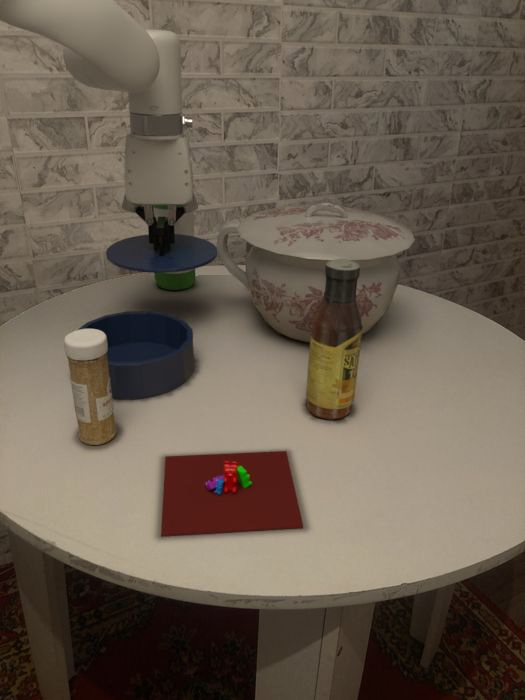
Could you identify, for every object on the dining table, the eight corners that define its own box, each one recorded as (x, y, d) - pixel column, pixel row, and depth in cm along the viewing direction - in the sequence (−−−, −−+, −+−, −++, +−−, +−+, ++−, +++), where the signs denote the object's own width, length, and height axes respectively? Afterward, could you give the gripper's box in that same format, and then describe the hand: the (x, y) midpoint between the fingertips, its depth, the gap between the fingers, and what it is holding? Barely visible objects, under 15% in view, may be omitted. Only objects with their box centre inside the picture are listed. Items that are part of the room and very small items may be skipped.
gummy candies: (203, 495, 63) (202, 469, 61) (206, 478, 65) (206, 452, 63) (251, 497, 63) (251, 471, 61) (252, 480, 65) (253, 455, 63)
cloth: (161, 536, 58) (161, 534, 58) (165, 458, 68) (165, 456, 68) (303, 528, 59) (303, 525, 59) (286, 452, 70) (286, 450, 70)
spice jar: (120, 441, 71) (110, 341, 65) (81, 450, 69) (67, 348, 63) (112, 420, 75) (101, 324, 68) (75, 428, 73) (60, 330, 66)
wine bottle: (156, 293, 111) (145, 121, 96) (154, 277, 117) (144, 115, 103) (197, 290, 112) (193, 121, 98) (193, 275, 119) (188, 115, 104)
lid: (99, 277, 87) (95, 239, 84) (113, 239, 103) (110, 206, 100) (219, 276, 89) (219, 239, 86) (215, 239, 105) (215, 207, 102)
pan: (66, 401, 78) (61, 366, 76) (86, 342, 93) (82, 312, 90) (193, 397, 80) (192, 362, 77) (193, 340, 94) (192, 309, 92)
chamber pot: (435, 337, 98) (458, 212, 88) (303, 383, 84) (313, 241, 74) (325, 282, 118) (334, 175, 108) (204, 312, 104) (201, 193, 94)
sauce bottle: (347, 426, 75) (364, 278, 65) (299, 416, 77) (309, 270, 67) (357, 399, 80) (374, 259, 71) (312, 390, 82) (323, 253, 73)
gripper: (209, 123, 91) (210, 240, 99) (105, 121, 89) (115, 240, 98) (211, 130, 84) (211, 255, 93) (98, 128, 82) (109, 255, 91)
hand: (162, 247), depth 95 cm, fingers closed on lid, 1 cm apart
